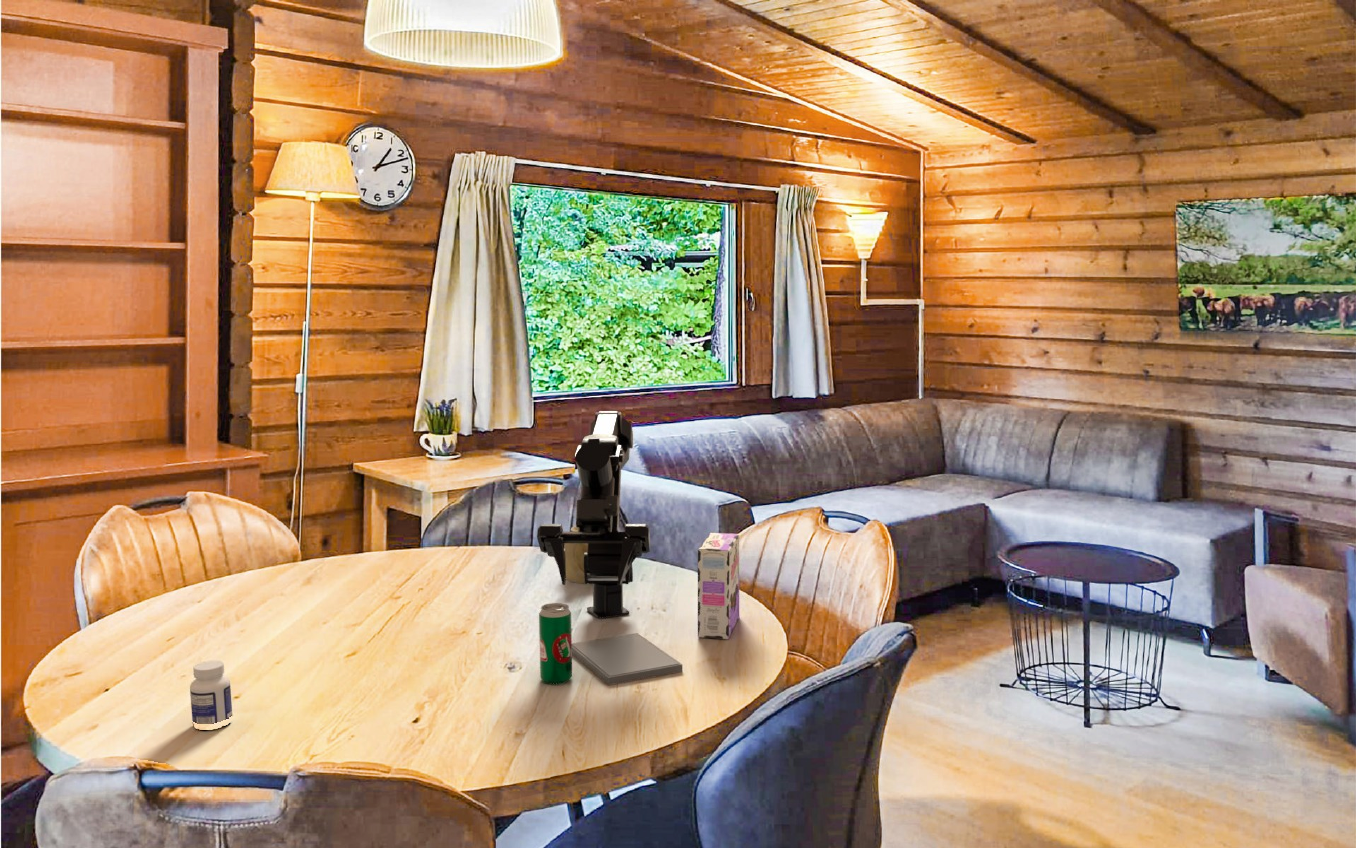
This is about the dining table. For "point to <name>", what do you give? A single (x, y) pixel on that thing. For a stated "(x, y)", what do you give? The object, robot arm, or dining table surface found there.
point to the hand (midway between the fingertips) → (591, 584)
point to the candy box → (718, 585)
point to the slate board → (624, 658)
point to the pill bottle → (210, 693)
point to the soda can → (555, 643)
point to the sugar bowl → (575, 560)
